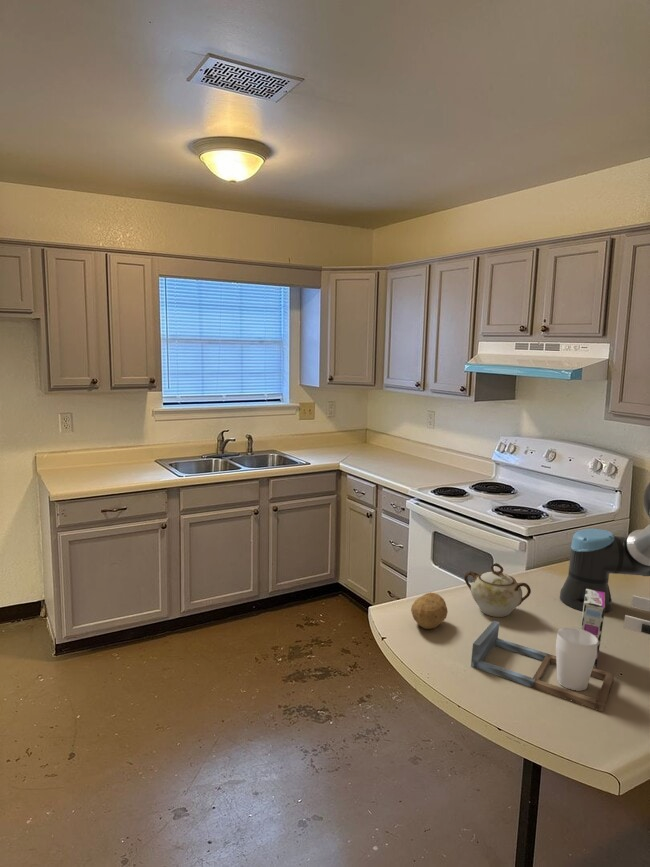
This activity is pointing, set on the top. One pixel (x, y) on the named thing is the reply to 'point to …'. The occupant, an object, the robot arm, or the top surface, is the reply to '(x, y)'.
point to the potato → (429, 610)
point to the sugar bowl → (496, 592)
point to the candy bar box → (593, 615)
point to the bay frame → (491, 640)
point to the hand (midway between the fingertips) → (628, 610)
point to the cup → (575, 657)
